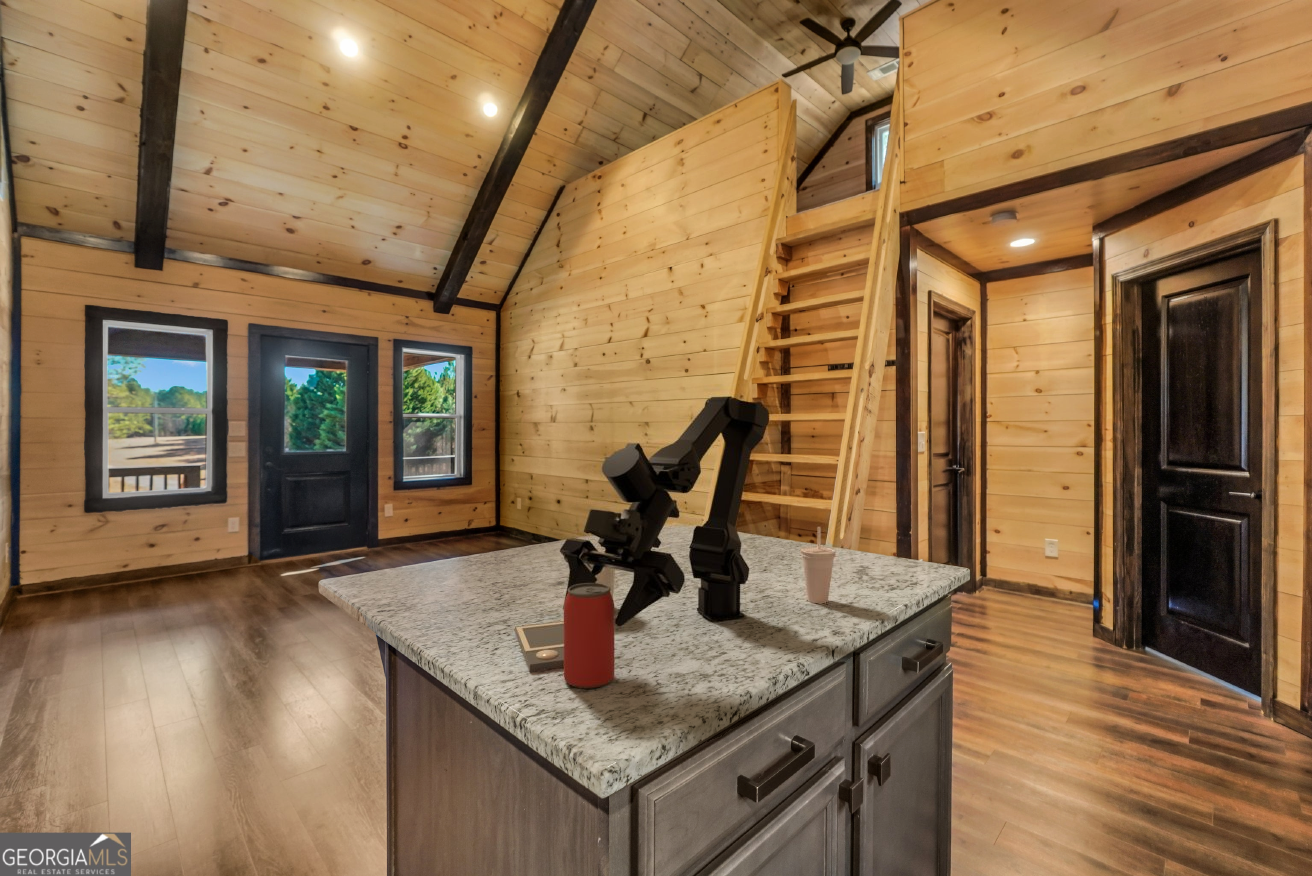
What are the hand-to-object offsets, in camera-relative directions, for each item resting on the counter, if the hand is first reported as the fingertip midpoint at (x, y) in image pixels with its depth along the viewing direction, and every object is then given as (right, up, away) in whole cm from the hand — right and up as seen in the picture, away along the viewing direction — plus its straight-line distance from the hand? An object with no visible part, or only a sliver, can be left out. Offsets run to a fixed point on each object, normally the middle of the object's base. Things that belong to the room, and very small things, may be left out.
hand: (590, 617), depth 77 cm
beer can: (0, -8, 0) cm, 8 cm away
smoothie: (+39, -8, +35) cm, 53 cm away
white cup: (-3, -8, +30) cm, 31 cm away
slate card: (-7, -8, +12) cm, 15 cm away
